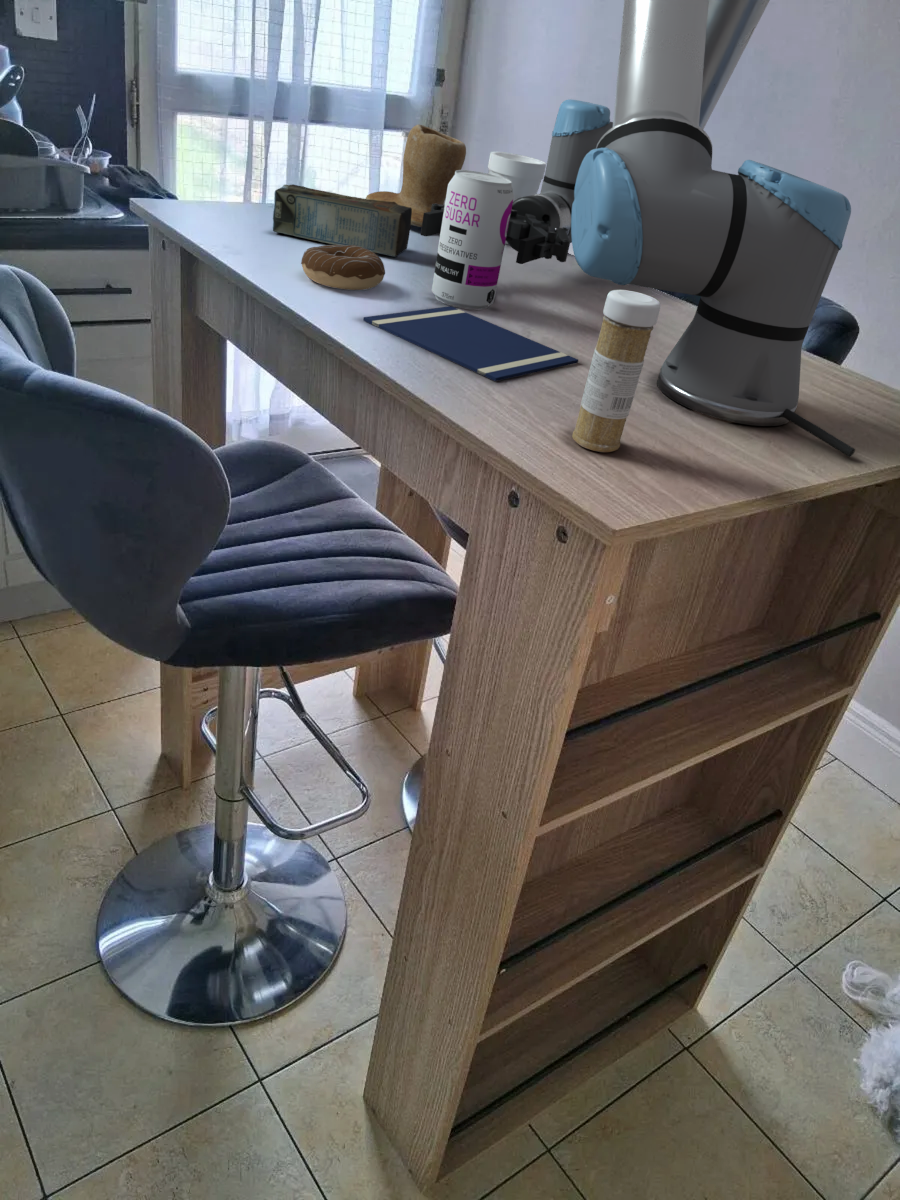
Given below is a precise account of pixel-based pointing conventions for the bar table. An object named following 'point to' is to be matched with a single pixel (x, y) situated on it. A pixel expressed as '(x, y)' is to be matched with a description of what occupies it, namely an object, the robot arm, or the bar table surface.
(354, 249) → the donut
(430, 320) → the tea towel
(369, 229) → the beverage carton
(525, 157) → the foam cup
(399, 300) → the bar table surface
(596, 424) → the sprinkles bottle
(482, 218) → the white soda can
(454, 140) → the tan boot
